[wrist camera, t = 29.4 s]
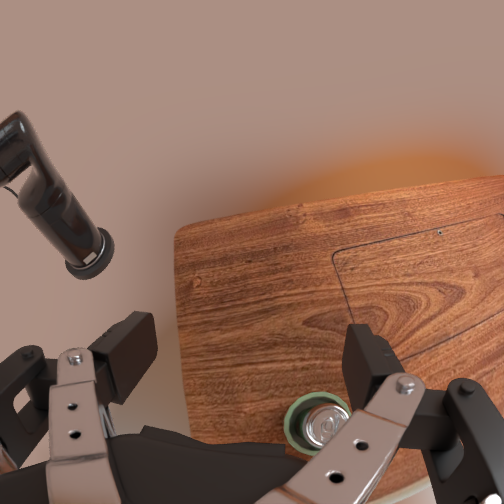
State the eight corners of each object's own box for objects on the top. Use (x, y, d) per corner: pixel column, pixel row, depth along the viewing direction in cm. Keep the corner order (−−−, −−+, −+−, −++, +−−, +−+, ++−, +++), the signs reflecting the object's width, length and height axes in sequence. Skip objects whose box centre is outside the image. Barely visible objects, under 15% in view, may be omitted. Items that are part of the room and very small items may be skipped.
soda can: (333, 407, 35) (356, 402, 25) (328, 442, 32) (350, 450, 22) (296, 405, 36) (306, 399, 25) (291, 439, 33) (298, 448, 23)
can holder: (272, 438, 34) (272, 442, 28) (296, 388, 38) (300, 382, 32) (326, 456, 32) (336, 463, 26) (348, 406, 35) (361, 403, 30)
